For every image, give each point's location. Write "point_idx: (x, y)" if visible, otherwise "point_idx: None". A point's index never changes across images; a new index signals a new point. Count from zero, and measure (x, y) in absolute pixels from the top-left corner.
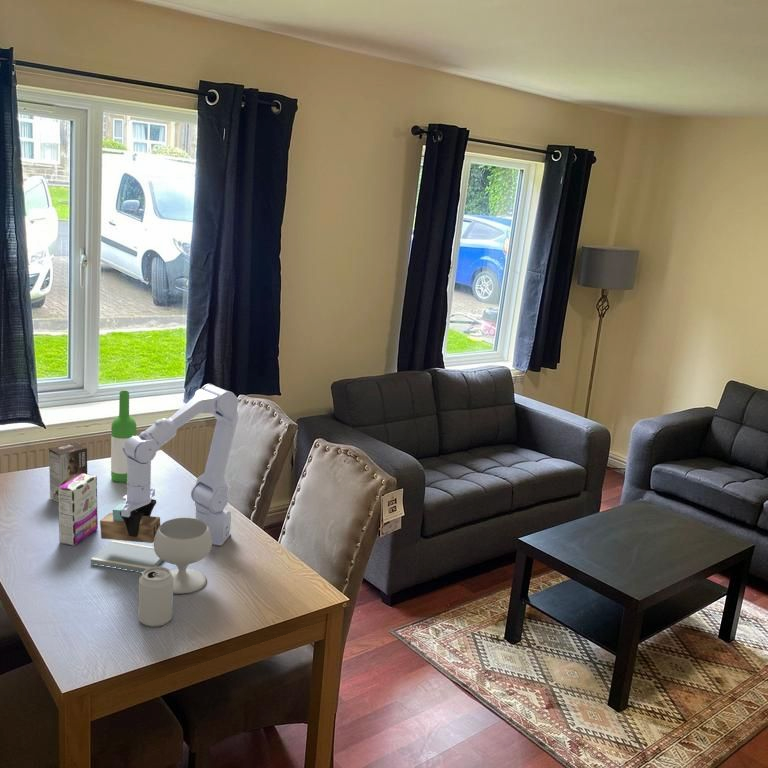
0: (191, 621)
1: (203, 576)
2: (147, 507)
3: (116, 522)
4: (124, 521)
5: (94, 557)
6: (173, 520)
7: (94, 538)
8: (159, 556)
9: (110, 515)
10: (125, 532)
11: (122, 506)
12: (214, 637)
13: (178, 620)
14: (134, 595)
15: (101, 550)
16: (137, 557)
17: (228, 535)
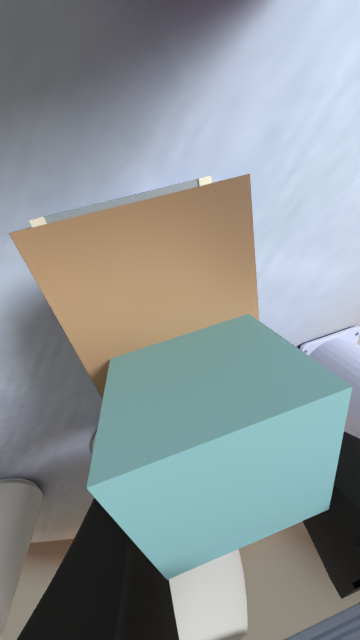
0: (58, 510)
1: None
2: (314, 524)
3: (102, 397)
4: (86, 517)
5: (52, 222)
6: (208, 627)
7: (223, 26)
8: None
9: (190, 243)
10: None
11: (261, 476)
12: (54, 537)
13: (43, 503)
14: (33, 426)
15: (117, 201)
16: None
17: None
